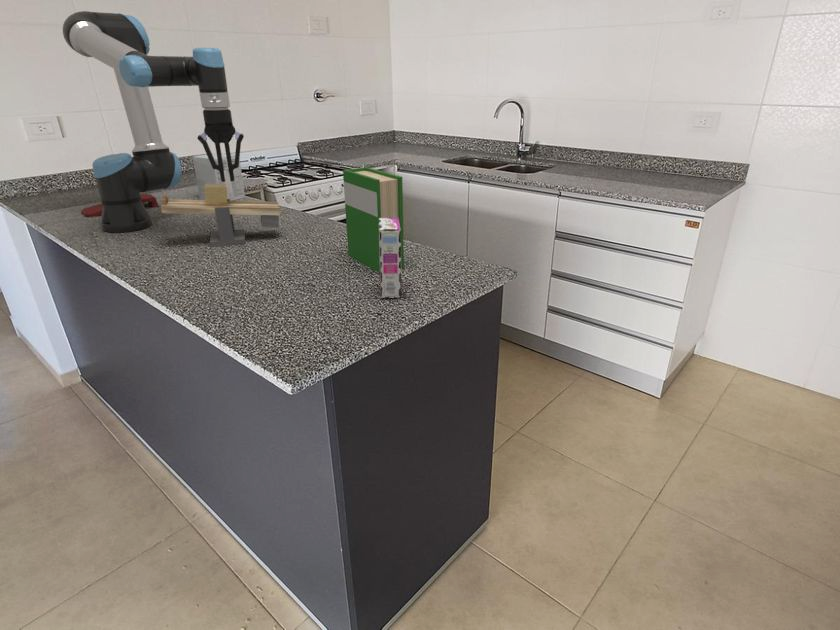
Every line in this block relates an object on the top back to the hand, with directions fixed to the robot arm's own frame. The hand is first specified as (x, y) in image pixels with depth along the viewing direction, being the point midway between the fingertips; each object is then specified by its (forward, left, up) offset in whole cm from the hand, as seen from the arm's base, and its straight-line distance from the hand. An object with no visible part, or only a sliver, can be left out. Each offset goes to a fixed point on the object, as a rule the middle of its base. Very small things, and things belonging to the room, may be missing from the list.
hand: (229, 192), depth 157 cm
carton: (-56, -43, -15) cm, 72 cm away
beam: (0, -3, -9) cm, 10 cm away
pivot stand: (0, -3, -15) cm, 15 cm away
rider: (0, -4, -4) cm, 6 cm away
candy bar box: (+56, +35, -15) cm, 68 cm away
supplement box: (-63, -6, -15) cm, 65 cm away
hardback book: (+35, +36, -15) cm, 53 cm away
